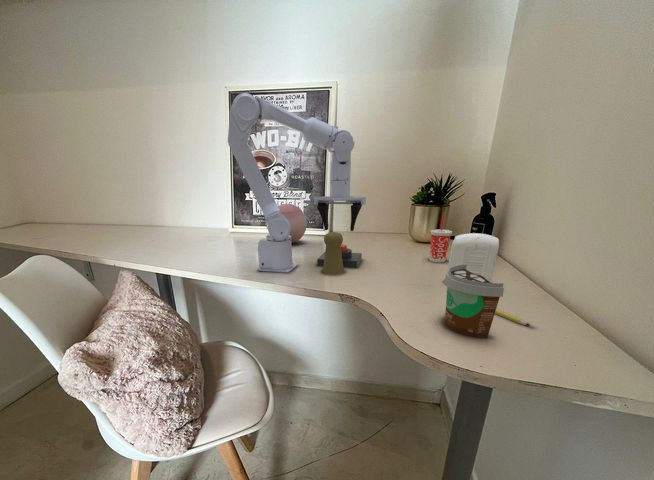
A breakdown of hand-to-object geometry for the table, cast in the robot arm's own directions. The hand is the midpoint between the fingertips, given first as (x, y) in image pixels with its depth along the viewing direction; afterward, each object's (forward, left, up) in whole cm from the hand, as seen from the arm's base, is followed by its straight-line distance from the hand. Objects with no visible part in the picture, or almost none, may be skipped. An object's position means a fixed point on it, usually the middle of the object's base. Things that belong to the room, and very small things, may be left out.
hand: (339, 230), depth 98 cm
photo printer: (+35, -11, -11) cm, 38 cm away
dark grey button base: (0, +2, -10) cm, 11 cm away
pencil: (+38, -29, -11) cm, 49 cm away
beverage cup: (+29, +11, -11) cm, 33 cm away
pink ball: (-26, +27, -11) cm, 39 cm away
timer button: (0, +2, -7) cm, 7 cm away
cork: (0, -8, -11) cm, 13 cm away
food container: (+30, -37, -11) cm, 49 cm away
